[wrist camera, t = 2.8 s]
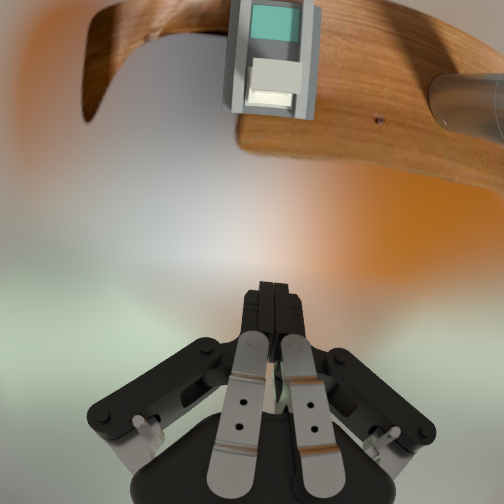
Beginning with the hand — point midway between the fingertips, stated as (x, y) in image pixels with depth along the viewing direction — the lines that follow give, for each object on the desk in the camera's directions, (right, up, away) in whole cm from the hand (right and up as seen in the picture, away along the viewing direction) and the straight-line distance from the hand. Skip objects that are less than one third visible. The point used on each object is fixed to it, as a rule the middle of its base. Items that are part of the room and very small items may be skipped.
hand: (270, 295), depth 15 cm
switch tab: (+1, +21, +13) cm, 25 cm away
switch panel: (+1, +27, +13) cm, 30 cm away
